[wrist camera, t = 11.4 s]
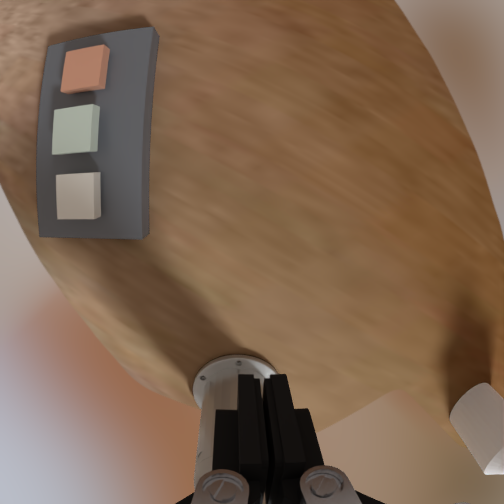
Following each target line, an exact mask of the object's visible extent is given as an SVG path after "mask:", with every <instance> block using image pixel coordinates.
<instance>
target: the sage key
mask: <svg viewBox="0 0 504 504" xmlns="http://www.w3.org/2000/svg"><path fill="white" fill-rule="evenodd" d="M99 113H100V107H99V106H97V105H94V104H90V105H83V106H76V107H69V108H63V109H57V110H54V121H53V138H52V155H61V154H72V153H83V152H96V151H97V150H98V128H99Z"/></svg>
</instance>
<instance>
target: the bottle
mask: <svg viewBox="0 0 504 504" xmlns="http://www.w3.org/2000/svg"><path fill="white" fill-rule="evenodd" d="M450 422H451V424H452V425H453V426H454V428H455V429H456V431H457V432H458V434H459V435H460V437H461V438H462V440H463V441H464V443H465V444H466V446H467V447H468V449H469V450H470V452H471V453H472V455H473V456H474V458H475V460H476V461H477V463H478V464H479V466H480V467H481V469H482V471H483V472H484V474H486V475H489V474H504V399H503V398H502V397H501V396H500V395H499V394H498V393H497V392H496V391H495V390H494V389H493V388H492V387H491V386H490V385H489V384H488V383H481V384H478V385H476V386H474V387H473V388H471V389H470V390H469V391H467V392H466V393H465V394H464V395H463V396H462V397H461V398H460V399H459V400H458V402H457V403H456V404H455V406H454V407H453V409H452V411H451V414H450Z"/></svg>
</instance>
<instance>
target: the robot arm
mask: <svg viewBox="0 0 504 504" xmlns="http://www.w3.org/2000/svg"><path fill="white" fill-rule="evenodd" d="M193 396H194V399H195V401H196V403H197V404H198V406H199V407H200V408H201V409H202V411H201V420H200V429H199V438H198V447H197V456H196V466H195V475H194V486H195V492H194V493H192V494H191V495H189V496H187V497H186V498H184V499H183V500H181V501H179V502H177V503H176V504H385V503H382V502H380V501H378V500H375V499H373V498H371V497H368V496H366V495H364V494H362V493H360V492H358V491H355V490H354V488H353V486H352V484H351V483H350V481H349V479H348V477H347V476H346V475H345V473H344V472H342V471H341V470H340V469H338V468H335V467H332V466H325V465H324V462H323V458H322V454H321V451H320V447H319V444H318V440H317V436H316V433H315V429H314V426H313V422H312V419H311V415H310V412H309V410H308V408H305V409H294V406H293V402H292V397H291V393H290V388H289V384H288V380H287V376H286V374H278V373H277V371H276V370H275V369H274V368H273V367H272V366H271V365H270V364H268V363H267V362H265V361H263V360H261V359H259V358H256V357H252V356H248V355H227V356H223V357H219V358H217V359H214V360H212V361H210V362H209V363H207V364H206V365H204V366H203V367H202V368H201V369H200V370H199V372H198V373H197V375H196V377H195V380H194V384H193ZM455 504H469V503H466V502H465V503H455Z"/></svg>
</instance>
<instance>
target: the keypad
mask: <svg viewBox="0 0 504 504" xmlns="http://www.w3.org/2000/svg"><path fill="white" fill-rule="evenodd" d="M158 43H159V35H158V33H157V31H156V30H155V28H154V27H146V28H137V29H129V30H122V31H116V32H110V33H104V34H99V35H93V36H88V37H84V38H79V39H75V40H71V41H66V42H62V43H59V44H55V45H51V46H48V51H47V56H46V62H45V68H44V74H43V81H42V89H41V97H40V106H39V117H38V132H37V157H36V185H37V211H38V225H39V237H58V238H102V239H141V240H142V239H144V238H145V237H146V236H147V235H148V234H149V161H150V135H151V117H152V103H153V90H154V79H155V69H156V60H157V51H158ZM98 45H105V46H107V47H108V48H109V49H110V53H109V60H108V68H107V76H106V84H105V89H100V90H92V91H86V92H79V93H73V94H66V93H63V92H61V83H62V76H63V69H64V63H65V57H66V52H69V51H73V50H78V49H82V48H87V47H92V46H98ZM90 104H94V105H97V106H99V107H100V113H99V128H98V150H97V151H96V152H83V153H72V154H61V155H52V138H53V121H54V110H57V109H63V108H69V107H76V106H83V105H90ZM90 172H100V189H101V217H98V218H96V219H57V200H56V175H61V174H73V173H90Z"/></svg>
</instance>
